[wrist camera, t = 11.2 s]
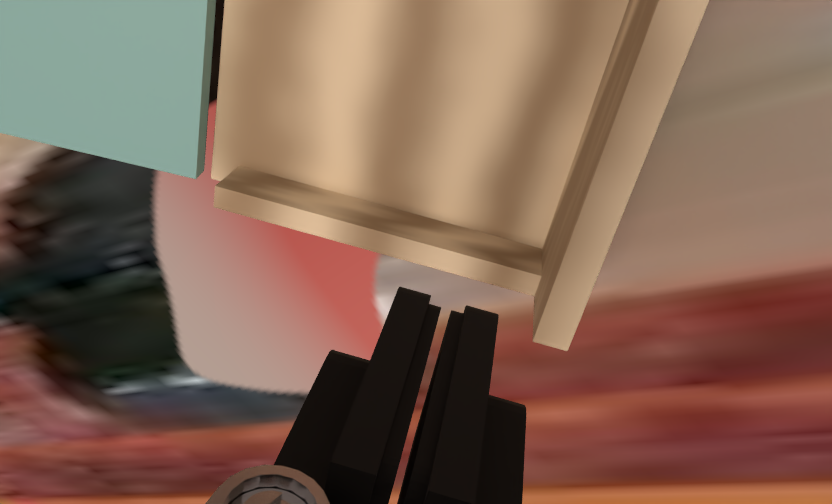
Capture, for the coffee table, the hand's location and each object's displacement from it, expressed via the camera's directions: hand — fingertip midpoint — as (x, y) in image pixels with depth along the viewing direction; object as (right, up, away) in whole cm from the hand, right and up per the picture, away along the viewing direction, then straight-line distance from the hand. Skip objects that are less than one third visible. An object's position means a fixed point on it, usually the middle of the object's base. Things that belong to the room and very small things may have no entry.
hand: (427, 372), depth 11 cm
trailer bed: (+1, +13, +24) cm, 27 cm away
